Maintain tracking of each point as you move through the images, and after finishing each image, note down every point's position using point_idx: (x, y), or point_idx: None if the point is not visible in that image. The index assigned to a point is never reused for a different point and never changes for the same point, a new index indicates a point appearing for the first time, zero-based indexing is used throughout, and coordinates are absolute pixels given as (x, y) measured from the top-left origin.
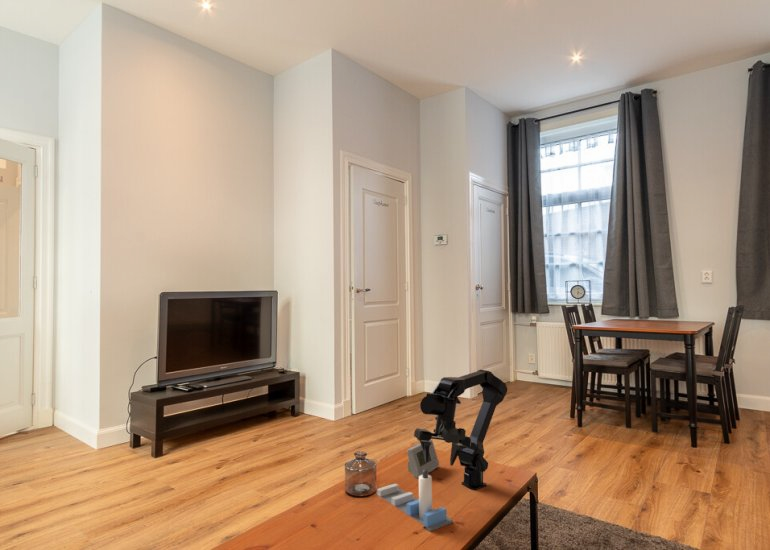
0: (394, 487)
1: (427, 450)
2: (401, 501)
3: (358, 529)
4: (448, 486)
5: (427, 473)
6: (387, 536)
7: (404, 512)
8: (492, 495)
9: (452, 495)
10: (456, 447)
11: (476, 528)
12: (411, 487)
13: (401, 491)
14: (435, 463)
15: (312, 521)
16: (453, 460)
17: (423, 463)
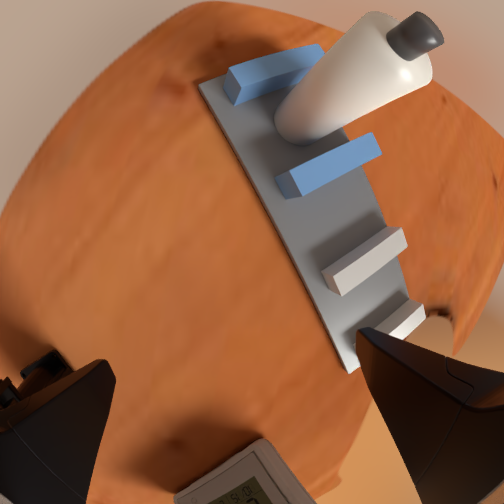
0: None
1: (452, 375)
2: (370, 242)
3: (449, 135)
4: (147, 393)
5: (405, 19)
6: None
7: (364, 173)
8: (6, 297)
9: (139, 320)
10: (4, 465)
11: (130, 54)
12: (293, 388)
13: (344, 341)
14: (186, 499)
15: (496, 198)
16: (75, 379)
17: (238, 490)
